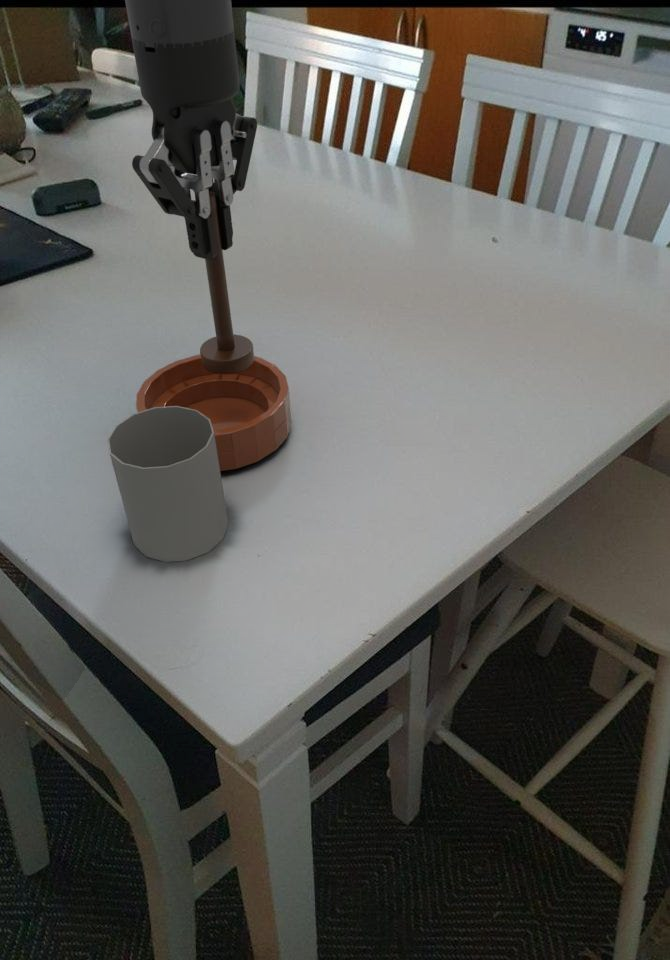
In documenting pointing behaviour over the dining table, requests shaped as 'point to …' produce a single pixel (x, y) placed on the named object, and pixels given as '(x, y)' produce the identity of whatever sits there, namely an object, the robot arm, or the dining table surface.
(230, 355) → the upright rod on disc
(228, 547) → the dining table surface
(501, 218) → the dining table surface
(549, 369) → the dining table surface
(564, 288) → the dining table surface
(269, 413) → the bowl
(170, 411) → the cup
